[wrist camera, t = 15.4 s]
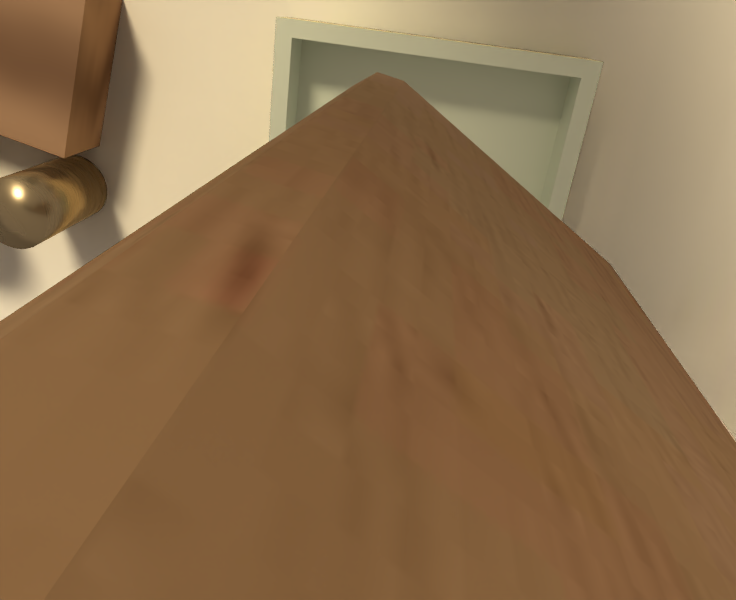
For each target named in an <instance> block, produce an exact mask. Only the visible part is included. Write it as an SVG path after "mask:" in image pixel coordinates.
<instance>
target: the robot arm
mask: <svg viewBox="0 0 736 600" xmlns="http://www.w3.org/2000/svg"><path fill="white" fill-rule="evenodd" d="M720 421H721V422H722V423H723V421H722V420H721V419H720ZM723 425H724V426H725V424H724V423H723ZM725 428H726V429H727V431H728V432H729V433H730V431H729V430H728V428H727V427H726V426H725ZM730 435H731V436H732V438H733V439H734V440H735V438H734V437H733V435H732V434H731V433H730ZM735 442H736V440H735Z"/></svg>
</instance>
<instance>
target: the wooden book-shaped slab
mask: <svg viewBox="0 0 736 600" xmlns="http://www.w3.org/2000/svg"><path fill="white" fill-rule="evenodd" d="M121 6H122V0H0V135H2V136H5V137H8V138H10V139H13V140H16V141H18V142H21V143H24V144H27V145H29V146H32V147H35V148H38V149H40V150H43V151H46V152H48V153H51V154H54V155H57V156H59V157H62V158H66V157H69V156H72V155H75V154H78V153H80V152H83V151H86V150H89V149H92V148H95V147H97V146H100V139H101V133H102V127H103V120H104V114H105V108H106V101H107V95H108V89H109V82H110V76H111V70H112V63H113V57H114V51H115V44H116V38H117V32H118V25H119V19H120V13H121Z"/></svg>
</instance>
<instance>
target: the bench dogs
mask: <svg viewBox="0 0 736 600" xmlns="http://www.w3.org/2000/svg"><path fill="white" fill-rule="evenodd" d="M106 197H107V187H106V183H105V180H104V178H103V176H102V174H101V173H100V171H99V170H98V169H97V167H96V166H95V165H93V164H92V163H91V162H90V161H88V160H86V159H84V158H82V157H79V156H74V155H72V156H69V157H66V158H62V157H60V158H57V159H54V160H51V161H48V162H45V163H42V164H40V165H37V166H34V167H31V168H28V169H25V170H22V171H19V172H16V173H13V174H11V175H8V176H5V177H2V178H0V242H2V243H3V244H5V245H7V246H10V247H13V248H19V249H26V248H31V247H34V246H36V245H37V244H39V243H41V242H43V241H45V240H47V239H49V238H50V237H52V236H54V235H56V234H58V233H60V232H61V231H63V230H65V229H67V228H69V227H71V226H73V225H74V224H76V223H78V222H80V221H82V220H84V219H86V218H87V217H89V216H91V215H93V214H95V213H97V212H98V211H99V210H100V209H101V208H102V207H103V205H104V203H105V201H106Z"/></svg>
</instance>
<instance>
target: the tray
mask: <svg viewBox="0 0 736 600" xmlns="http://www.w3.org/2000/svg"><path fill="white" fill-rule="evenodd" d="M603 63H604V62H602V61H597V60H593V59H587V58H580V57H573V56H566V55H558V54H551V53H544V52H537V51H529V50H522V49H515V48H508V47H500V46H493V45H486V44H479V43H471V42H464V41H457V40H449V39H442V38H435V37H428V36H420V35H413V34H406V33H399V32H391V31H384V30H377V29H370V28H362V27H355V26H348V25H341V24H333V23H326V22H319V21H312V20H304V19H297V18H289V17H276V27H275V44H274V61H273V79H272V96H271V113H270V131H269V141H271V140H272V139H274V138H275V137H277V136H278V135H280V134H281V133H283V132H284V131H286V130H287V129H289V128H290V127H292V126H293V125H295V124H296V123H298V122H299V121H301V120H302V119H304V118H305V117H307V116H308V115H310V114H311V113H313V112H314V111H316V110H317V109H319V108H320V107H322V106H323V105H325V104H326V103H328V102H329V101H331V100H332V99H334V98H335V97H337V96H338V95H340V94H341V93H343V92H344V91H346V90H347V89H349V88H350V87H352V86H353V85H355V84H357V83H359V82H360V81H362V80H364V79H366V78H367V77H369V76H371V75H373V74H375V73H376V72H379V73H382V74H385V75H388V76H391V77H394V78H397V79H400V80H403V81H405V82H406V83H407V84H408V85H409V86H410V87H412V88H413V89H414V90H415V91H416V92H417V93H418V94H419V95H420V96H422V97H423V98H424V99H425V100H426V101H427V102H428V103H429V104H431V105H432V106H433V107H434V108H435V109H436V110H437V111H438V112H440V113H441V114H442V115H443V116H444V117H445V118H446V119H447V120H449V121H450V122H451V123H452V124H453V125H454V126H455V127H456V128H458V129H459V130H460V131H461V132H462V133H463V134H464V135H465V136H467V137H468V138H469V139H470V140H471V141H472V142H473V143H474V144H476V145H477V146H478V147H479V148H480V149H481V150H482V151H483V152H485V153H486V154H487V155H488V156H489V157H490V158H491V159H492V160H494V161H495V162H496V163H497V164H498V165H499V166H500V167H501V168H502V169H504V170H505V171H506V172H507V173H508V174H509V175H510V176H511V177H513V178H514V179H515V180H516V181H517V182H518V183H519V184H520V185H522V186H523V187H524V188H525V189H526V190H527V191H528V192H529V193H531V194H532V195H533V196H534V197H535V198H536V199H537V200H538V201H540V202H541V203H542V204H543V205H544V206H545V207H546V208H547V209H549V210H550V211H551V212H552V213H553V214H554V215H555V216H556V217H558V218H559V219H560V220H561V221H562V219H563V215H564V211H565V207H566V203H567V200H568V196H569V192H570V188H571V184H572V181H573V177H574V173H575V169H576V165H577V162H578V158H579V154H580V150H581V146H582V143H583V139H584V135H585V131H586V127H587V124H588V120H589V116H590V112H591V108H592V105H593V101H594V97H595V93H596V89H597V86H598V82H599V78H600V74H601V70H602V67H603Z"/></svg>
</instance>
